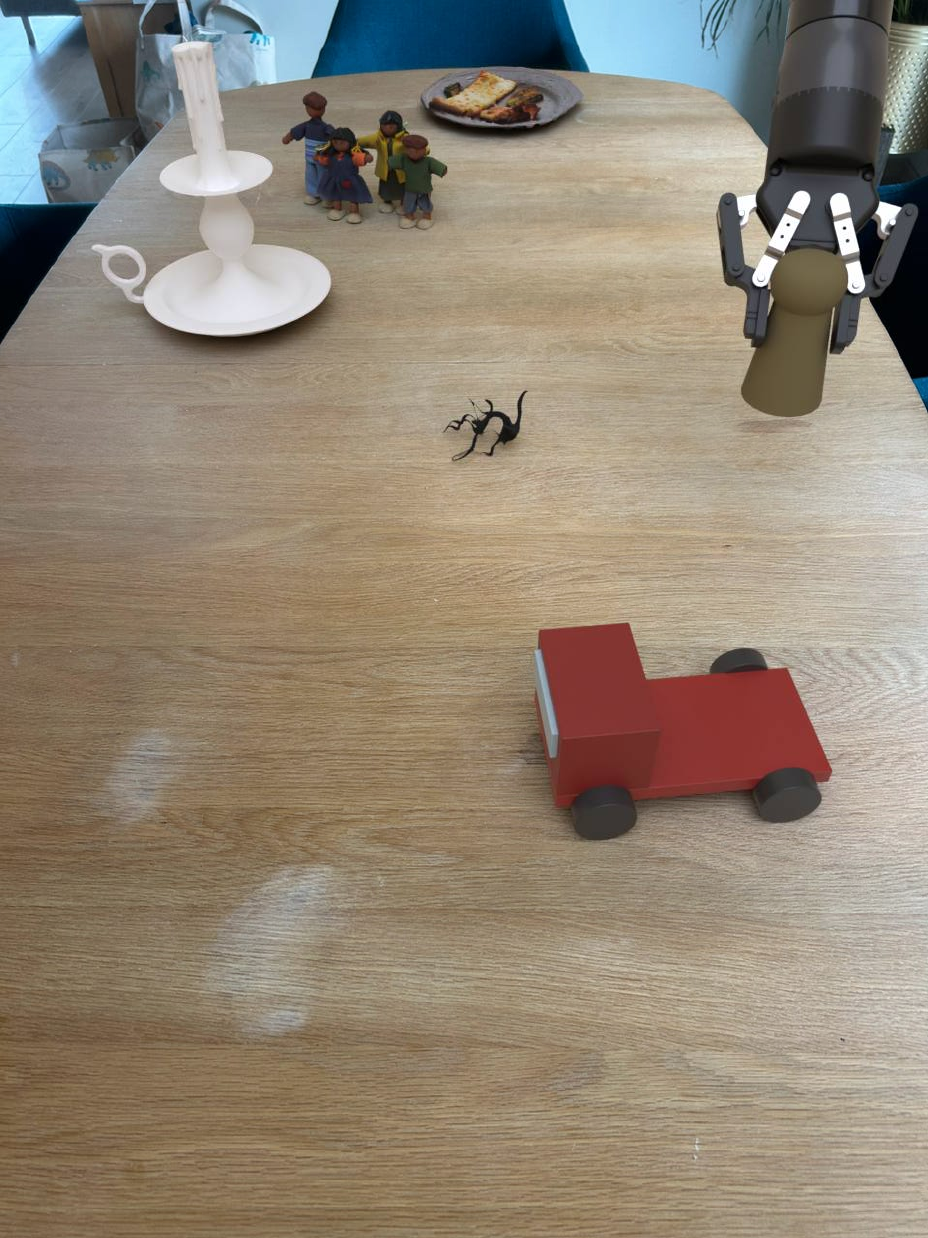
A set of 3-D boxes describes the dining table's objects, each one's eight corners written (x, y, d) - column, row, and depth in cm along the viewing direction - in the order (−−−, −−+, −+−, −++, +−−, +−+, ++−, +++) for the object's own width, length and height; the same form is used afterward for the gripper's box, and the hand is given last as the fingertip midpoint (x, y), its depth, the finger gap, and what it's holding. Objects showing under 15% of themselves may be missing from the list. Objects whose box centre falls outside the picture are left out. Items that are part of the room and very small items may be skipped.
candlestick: (126, 276, 119) (54, 10, 99) (333, 264, 121) (304, 0, 101) (98, 369, 105) (7, 80, 85) (334, 354, 106) (299, 67, 86)
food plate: (523, 151, 145) (524, 125, 142) (393, 120, 154) (391, 96, 151) (603, 99, 159) (605, 75, 157) (480, 73, 168) (480, 50, 166)
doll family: (272, 219, 130) (255, 110, 120) (292, 190, 136) (278, 84, 126) (446, 231, 127) (444, 120, 117) (459, 201, 133) (458, 93, 123)
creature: (433, 469, 94) (512, 470, 91) (419, 419, 91) (500, 419, 87) (462, 423, 99) (538, 423, 96) (450, 375, 96) (528, 373, 93)
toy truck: (771, 680, 74) (799, 591, 67) (828, 818, 66) (867, 732, 59) (524, 702, 73) (529, 613, 66) (551, 845, 64) (559, 760, 58)
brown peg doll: (817, 423, 74) (857, 283, 66) (734, 409, 75) (764, 270, 67) (825, 380, 78) (863, 243, 70) (746, 367, 79) (775, 232, 71)
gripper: (730, 77, 68) (700, 326, 69) (951, 86, 66) (918, 342, 67) (718, 129, 76) (691, 353, 76) (916, 139, 74) (887, 369, 74)
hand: (797, 347), depth 71 cm, fingers closed on brown peg doll, 5 cm apart
